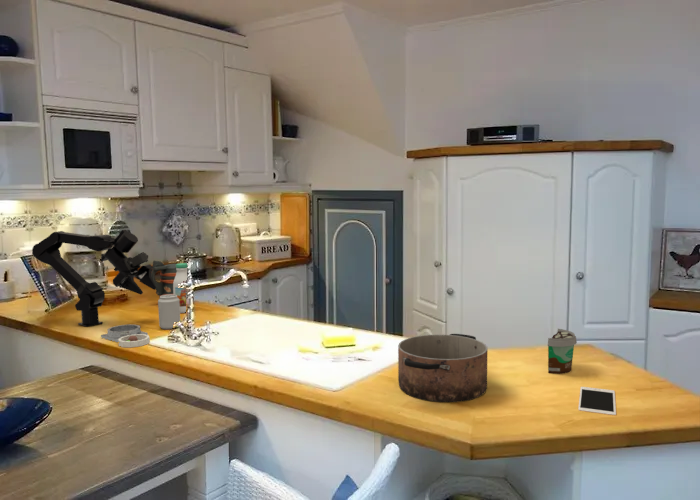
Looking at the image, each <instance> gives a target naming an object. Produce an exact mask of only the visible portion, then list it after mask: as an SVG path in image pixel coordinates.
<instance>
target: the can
mask: <svg viewBox="0 0 700 500" xmlns="http://www.w3.org/2000/svg"><path fill="white" fill-rule="evenodd" d="M157 309H158V325H159V327H160V328H161V329H162V330H173V329H172V328H173V324H174V322H179V321H180V322H181V313H180V303H179V299H178V298H177V295H174V294H169V295H162V296H160V298H158V300H157Z"/></svg>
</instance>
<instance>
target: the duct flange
mask: <svg viewBox="0 0 700 500" xmlns="http://www.w3.org/2000/svg"><path fill="white" fill-rule="evenodd" d="M134 334H145V335H149V334H148V332H146V331H142V330H141V325H138V324H130V323H129V324H121V325H120V324H119V325H115V326H110V327H108V328H107V332H106V333H104V334H101V335H100V338H101V337H102V338H101V339H103V338H105V339H104V340H107V339H108V340H107V341H111V340H112V342H114V341H115V343H118V339H119V338H121V337H123V336H127V335H134Z"/></svg>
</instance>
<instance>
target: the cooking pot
mask: <svg viewBox="0 0 700 500" xmlns="http://www.w3.org/2000/svg"><path fill="white" fill-rule="evenodd" d="M397 348H398V349H397V350H398V351H397V354H398V357H397V359H398V362H397V364H398V367H397V368H398V371H397V372H398V374H397V375H398V376H397V377H398V387H399V388H400V390H401V391H402V392H403V393H405V394H406V395H409V396H410V397H413V398H415V399H419V400H423V401H429V402H435V403H460V402H466V401H471V400H475V399H477V398H479V397H481V396H483V395H484V394H485V393H486V392H487V389H488V346H487V345H486V344H485V343H484V342H483V341H480V340H478V339H477V338H476V336H474V335H470V334H462V333H451V334H423V335H422V334H421V335H417V336H412V337H411V336H410V337H408V338H405V339H403V340H401V341H400V342H398V346H397Z"/></svg>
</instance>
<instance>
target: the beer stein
mask: <svg viewBox="0 0 700 500" xmlns="http://www.w3.org/2000/svg"><path fill="white" fill-rule="evenodd" d="M176 264H177V263H168V264H164V263H163V262H161V261H158V260H153V262H152V265H151V266H152V267H153V269H152V272H151V276H152V279H153V281H154V283H155V286H156V289H155V293H156V294H157V296H158V299H160V296H162V295H169V294H173V282H174V279H175V276H176V273H177V269H176ZM159 271H160V276H159V278H160V279H159V281H157V280H156V273H158V272H159Z"/></svg>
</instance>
